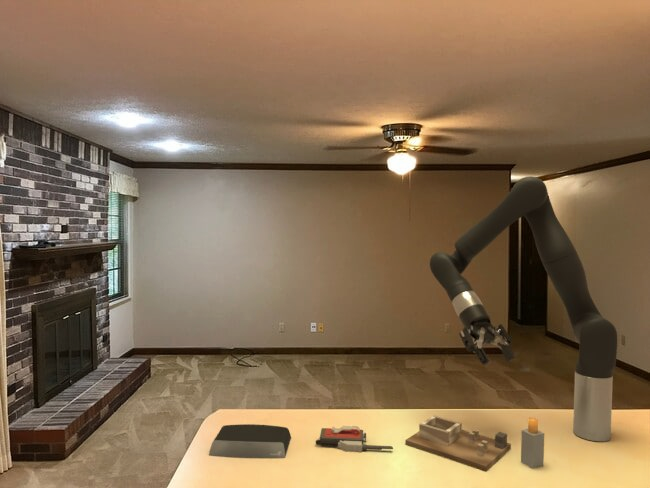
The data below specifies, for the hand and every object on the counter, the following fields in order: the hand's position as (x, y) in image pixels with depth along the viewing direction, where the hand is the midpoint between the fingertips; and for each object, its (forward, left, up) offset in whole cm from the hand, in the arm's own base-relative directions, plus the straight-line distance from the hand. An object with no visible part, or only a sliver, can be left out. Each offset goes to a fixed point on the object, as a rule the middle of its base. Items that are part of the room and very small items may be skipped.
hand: (499, 361), depth 134 cm
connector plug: (+5, +11, -22) cm, 25 cm away
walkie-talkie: (+25, -29, -23) cm, 44 cm away
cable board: (+8, -7, -22) cm, 25 cm away
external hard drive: (+43, -48, -23) cm, 69 cm away
